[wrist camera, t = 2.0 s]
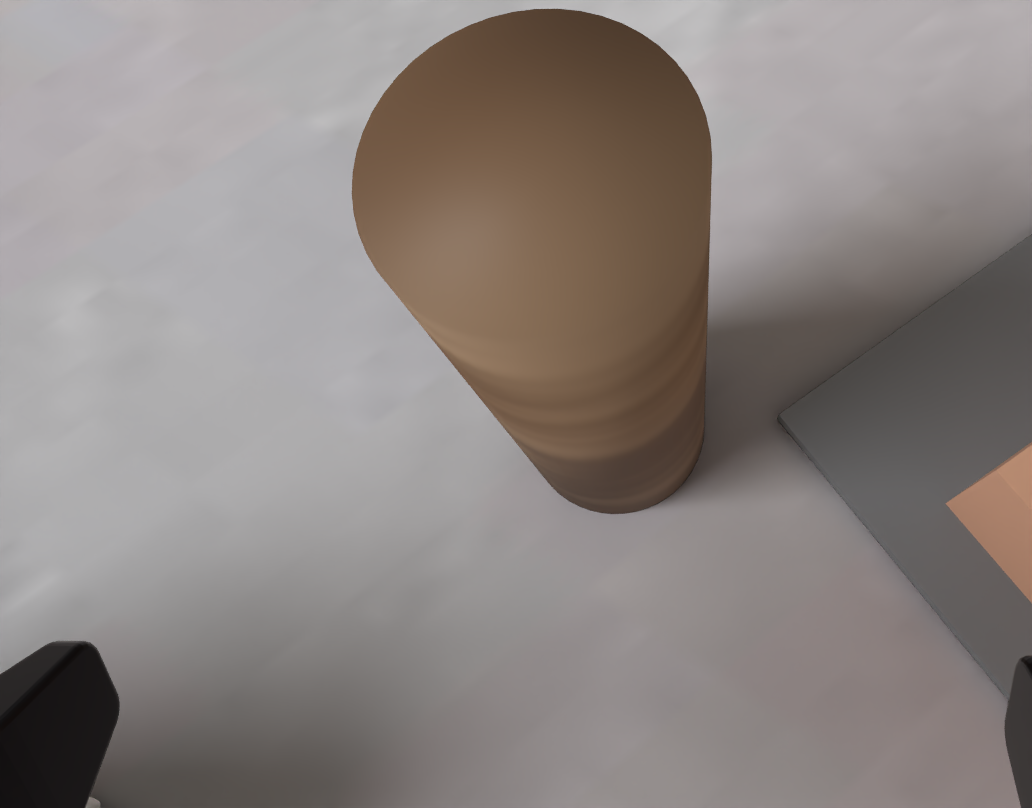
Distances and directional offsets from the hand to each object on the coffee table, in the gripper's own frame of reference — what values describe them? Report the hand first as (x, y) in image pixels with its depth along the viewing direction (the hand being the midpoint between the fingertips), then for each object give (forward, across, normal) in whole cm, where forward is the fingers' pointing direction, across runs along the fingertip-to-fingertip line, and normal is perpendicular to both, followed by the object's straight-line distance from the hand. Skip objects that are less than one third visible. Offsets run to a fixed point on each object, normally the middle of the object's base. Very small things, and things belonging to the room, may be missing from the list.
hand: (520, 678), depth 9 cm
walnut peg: (+12, 0, +5) cm, 13 cm away
